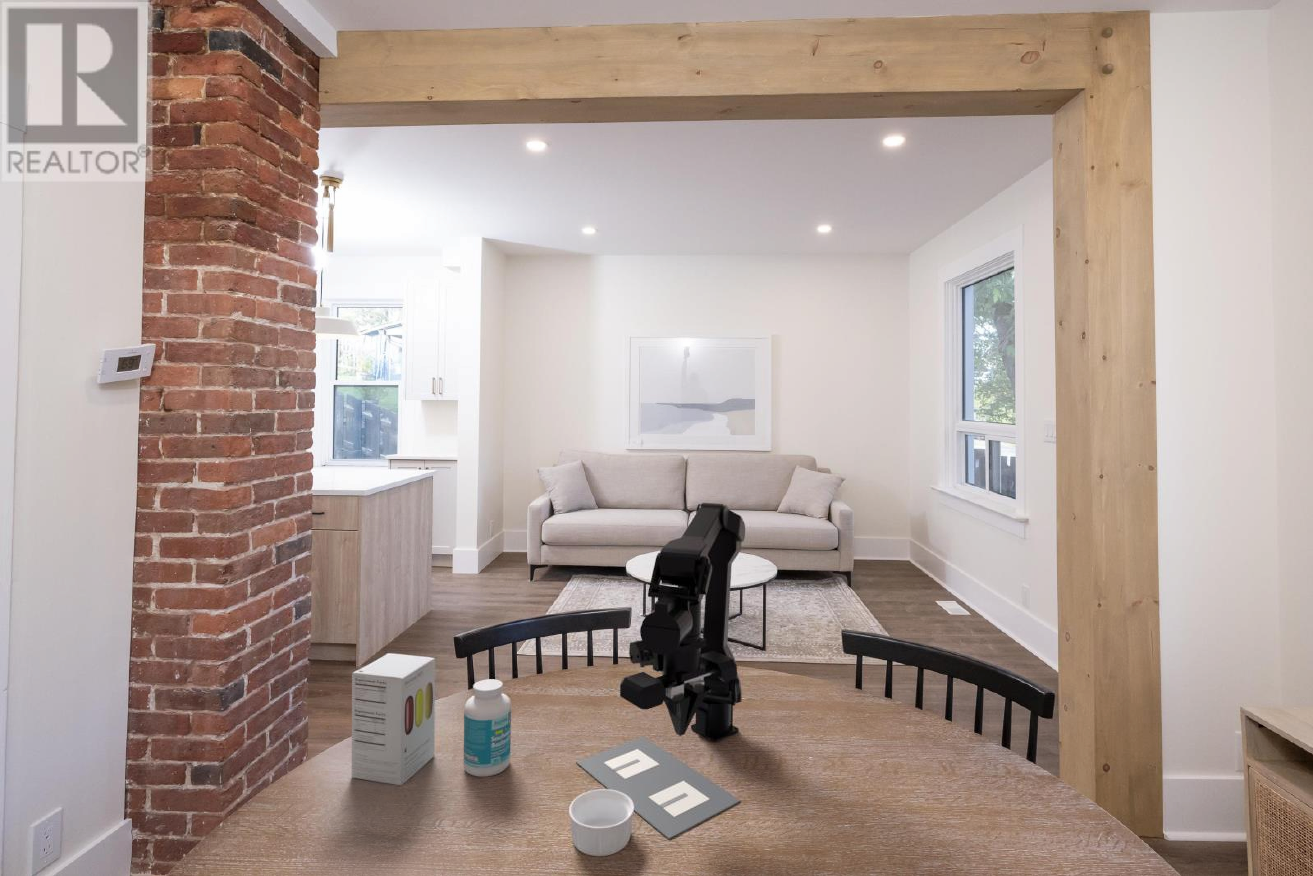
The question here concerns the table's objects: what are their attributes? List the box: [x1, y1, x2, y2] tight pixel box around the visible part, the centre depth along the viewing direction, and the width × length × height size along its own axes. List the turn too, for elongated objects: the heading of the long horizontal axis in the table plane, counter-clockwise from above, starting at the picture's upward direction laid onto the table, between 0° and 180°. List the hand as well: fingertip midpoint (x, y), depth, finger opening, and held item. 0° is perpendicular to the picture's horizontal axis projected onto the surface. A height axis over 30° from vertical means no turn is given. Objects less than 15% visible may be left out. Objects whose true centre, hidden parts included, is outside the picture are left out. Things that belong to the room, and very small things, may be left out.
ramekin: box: [568, 788, 635, 857], centre depth 86 cm, size 9×9×4 cm
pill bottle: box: [463, 678, 512, 778], centre depth 103 cm, size 8×7×14 cm
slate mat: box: [575, 736, 742, 840], centre depth 99 cm, size 14×24×1 cm, turn 39°
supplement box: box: [351, 652, 436, 786], centre depth 102 cm, size 10×9×17 cm
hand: (680, 734), depth 94 cm, fingers closed
